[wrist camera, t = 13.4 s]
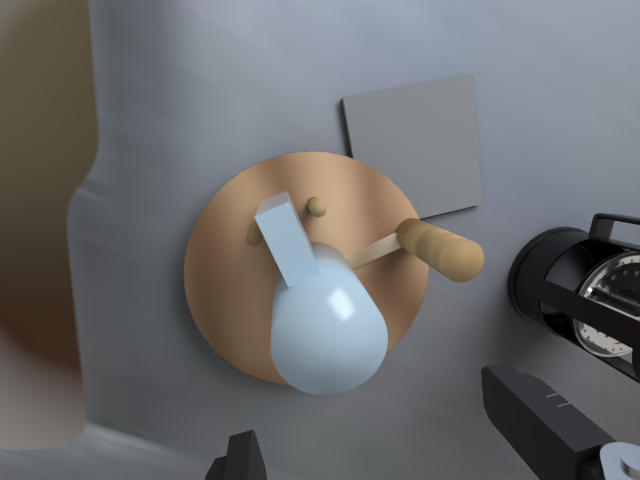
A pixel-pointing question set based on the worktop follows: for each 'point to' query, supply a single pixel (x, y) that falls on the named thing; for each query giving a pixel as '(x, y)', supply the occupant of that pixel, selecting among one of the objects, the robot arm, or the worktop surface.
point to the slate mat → (421, 141)
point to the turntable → (320, 226)
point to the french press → (585, 291)
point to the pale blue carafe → (318, 309)
